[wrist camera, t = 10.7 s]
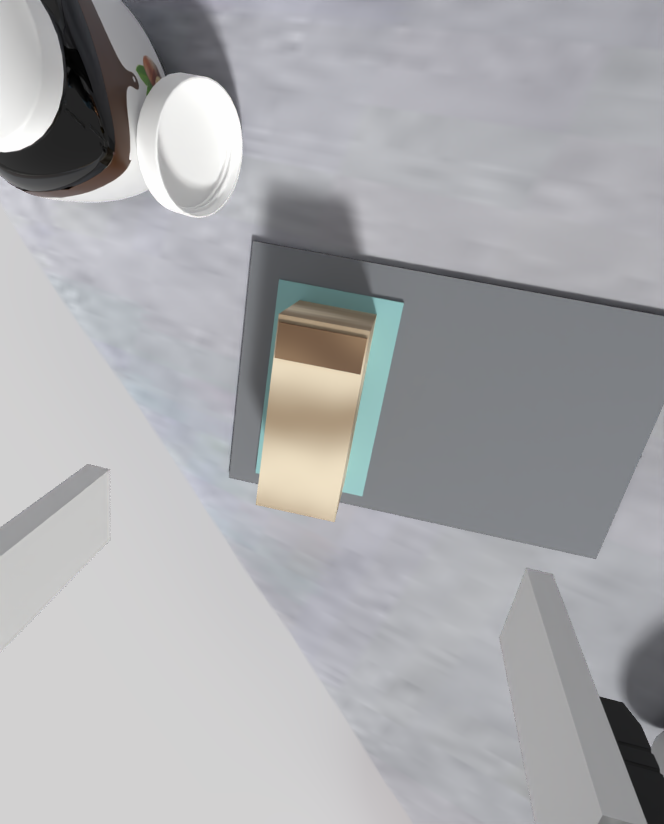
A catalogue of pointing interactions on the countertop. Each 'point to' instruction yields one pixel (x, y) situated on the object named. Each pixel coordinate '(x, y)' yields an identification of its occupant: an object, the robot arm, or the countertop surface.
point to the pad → (375, 370)
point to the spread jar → (108, 112)
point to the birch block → (313, 407)
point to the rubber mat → (481, 400)
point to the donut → (659, 751)
